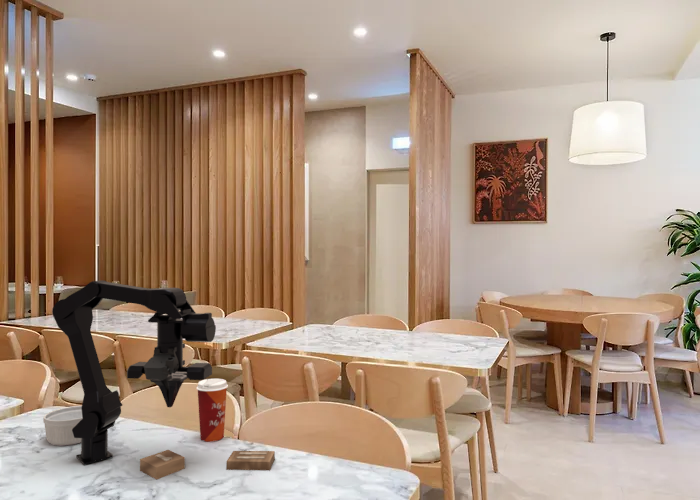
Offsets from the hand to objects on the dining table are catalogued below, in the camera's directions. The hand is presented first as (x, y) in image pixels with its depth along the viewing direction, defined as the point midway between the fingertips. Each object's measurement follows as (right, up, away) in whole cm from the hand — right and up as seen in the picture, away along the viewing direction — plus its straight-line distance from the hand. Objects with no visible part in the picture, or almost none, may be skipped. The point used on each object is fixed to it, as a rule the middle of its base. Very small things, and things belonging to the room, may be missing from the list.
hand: (169, 406), depth 118 cm
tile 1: (0, -13, -4) cm, 14 cm away
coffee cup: (+6, -13, +15) cm, 21 cm away
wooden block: (+15, -12, -1) cm, 19 cm away
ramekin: (-32, -13, +15) cm, 38 cm away
